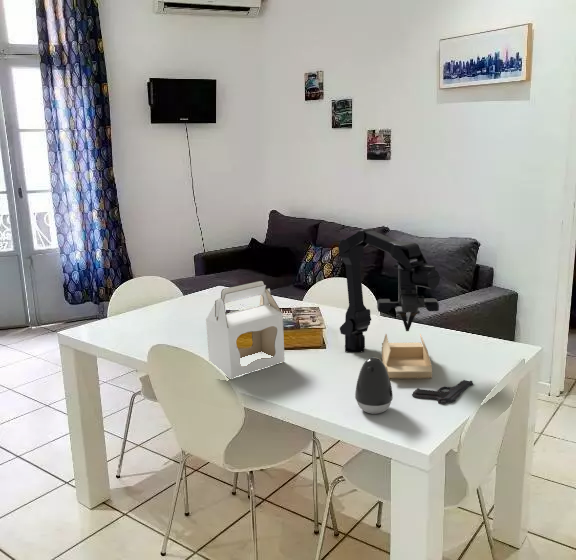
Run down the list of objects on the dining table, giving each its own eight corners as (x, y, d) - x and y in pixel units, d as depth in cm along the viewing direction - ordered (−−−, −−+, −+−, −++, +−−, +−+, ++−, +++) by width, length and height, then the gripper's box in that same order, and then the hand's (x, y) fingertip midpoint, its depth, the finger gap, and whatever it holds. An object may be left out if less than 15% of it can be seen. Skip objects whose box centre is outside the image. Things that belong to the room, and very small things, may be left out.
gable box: (230, 380, 194) (225, 294, 188) (208, 369, 205) (202, 287, 198) (285, 362, 208) (282, 282, 201) (262, 352, 218) (258, 275, 211)
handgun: (436, 372, 191) (474, 380, 184) (436, 378, 192) (474, 386, 185) (410, 392, 177) (450, 401, 170) (410, 398, 177) (450, 408, 170)
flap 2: (430, 364, 189) (426, 350, 188) (422, 345, 205) (419, 333, 205) (431, 363, 189) (427, 350, 188) (423, 345, 205) (420, 333, 205)
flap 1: (386, 364, 190) (389, 350, 189) (382, 346, 207) (385, 333, 205) (386, 364, 190) (390, 351, 189) (382, 346, 207) (386, 333, 205)
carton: (386, 383, 187) (386, 371, 186) (380, 353, 212) (380, 342, 211) (433, 383, 186) (433, 371, 185) (422, 353, 211) (422, 342, 210)
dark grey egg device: (350, 415, 167) (350, 363, 164) (360, 400, 176) (359, 350, 173) (388, 420, 163) (388, 366, 160) (395, 404, 173) (396, 353, 169)
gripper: (379, 290, 185) (379, 339, 189) (442, 289, 184) (441, 338, 188) (376, 281, 196) (377, 328, 200) (436, 280, 195) (435, 327, 198)
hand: (407, 330), depth 196 cm, fingers closed
